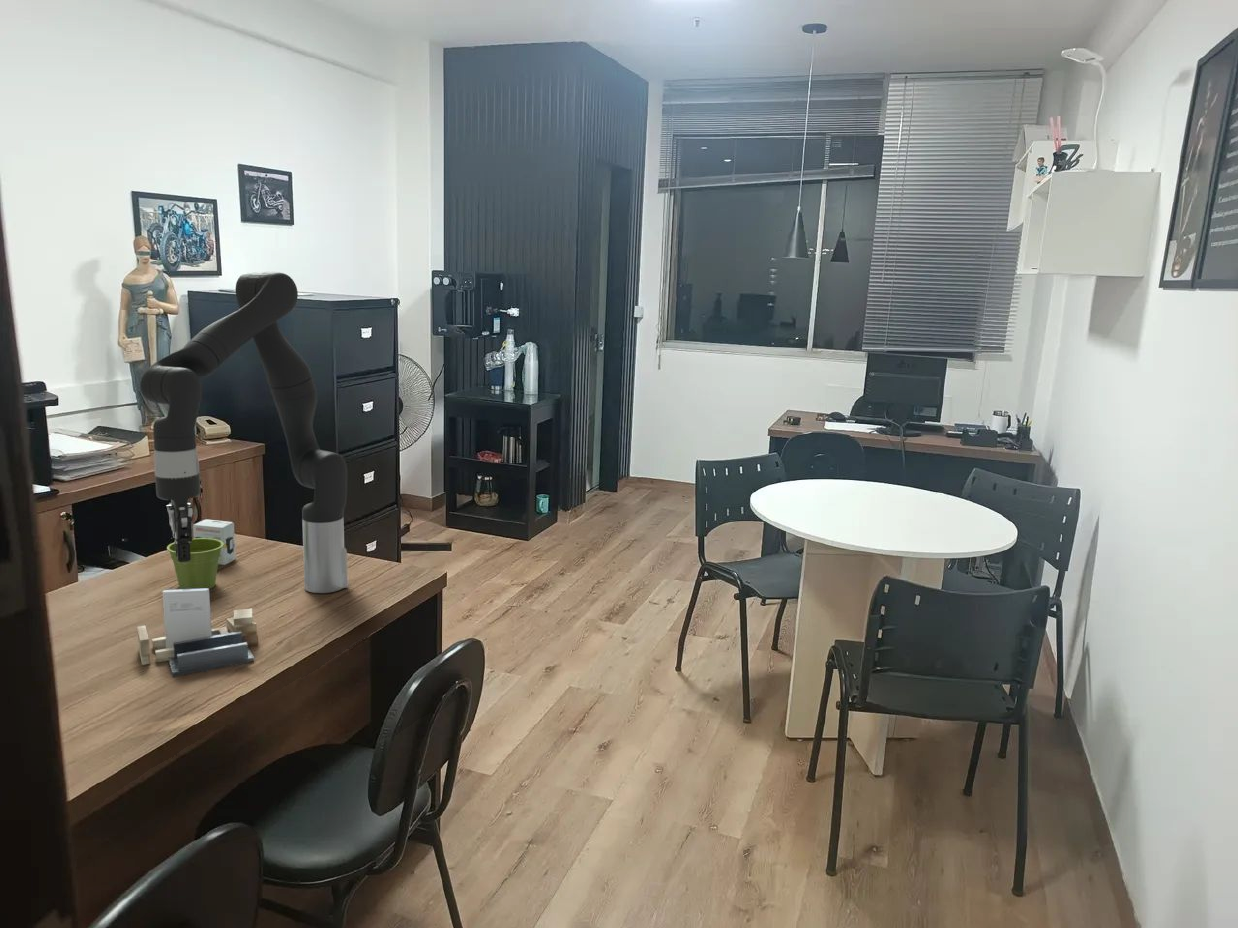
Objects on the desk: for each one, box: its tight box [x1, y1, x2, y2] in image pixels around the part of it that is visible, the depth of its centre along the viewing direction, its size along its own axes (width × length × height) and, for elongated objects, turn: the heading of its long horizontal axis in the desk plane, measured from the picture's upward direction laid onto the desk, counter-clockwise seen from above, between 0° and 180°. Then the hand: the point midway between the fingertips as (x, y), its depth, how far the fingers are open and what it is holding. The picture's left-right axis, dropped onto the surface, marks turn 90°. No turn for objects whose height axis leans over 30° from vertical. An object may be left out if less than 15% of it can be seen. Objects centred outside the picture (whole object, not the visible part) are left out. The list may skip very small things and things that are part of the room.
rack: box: [136, 625, 228, 666], centre depth 168 cm, size 16×7×5 cm, turn 123°
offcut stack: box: [226, 607, 259, 647], centre depth 174 cm, size 5×7×6 cm
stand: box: [168, 631, 255, 677], centre depth 164 cm, size 14×7×4 cm, turn 123°
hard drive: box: [162, 588, 212, 649], centre depth 168 cm, size 2×8×12 cm, turn 104°
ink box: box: [192, 518, 236, 566], centre depth 215 cm, size 9×5×12 cm, turn 81°
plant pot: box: [166, 538, 224, 590], centre depth 199 cm, size 12×12×11 cm
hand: (183, 558), depth 165 cm, fingers closed
